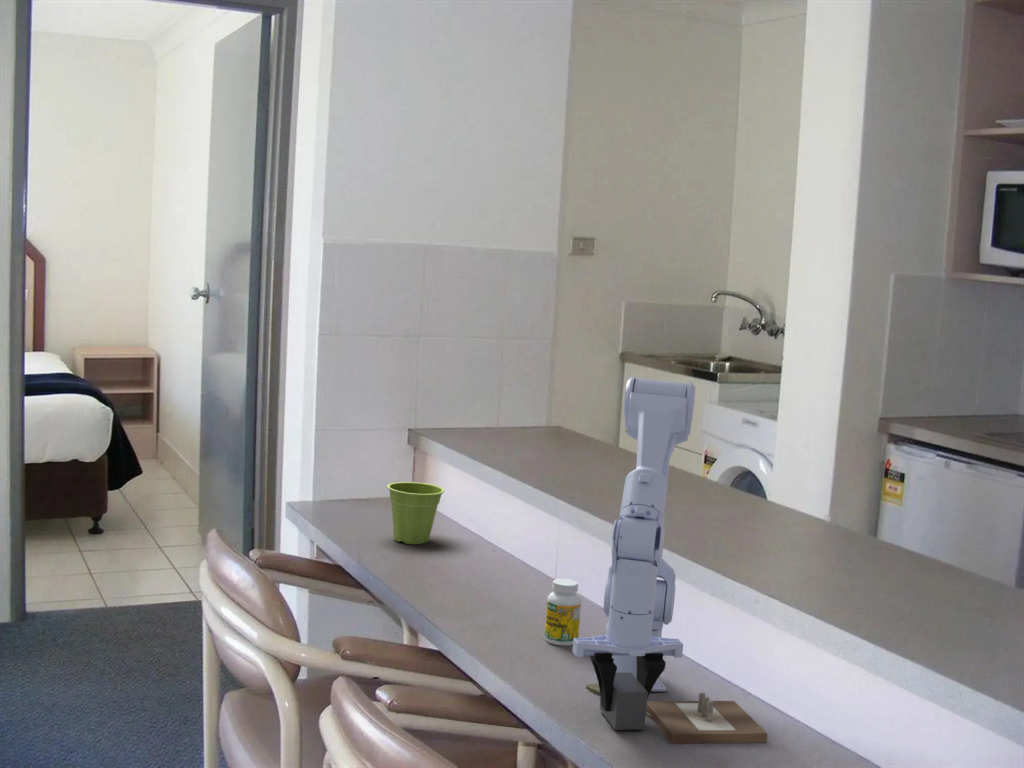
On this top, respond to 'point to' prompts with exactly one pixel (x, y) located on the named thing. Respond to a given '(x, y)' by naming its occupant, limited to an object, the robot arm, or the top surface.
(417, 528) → the plant pot
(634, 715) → the block
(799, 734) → the top surface
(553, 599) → the supplement bottle
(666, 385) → the robot arm
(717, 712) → the pin board
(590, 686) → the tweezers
